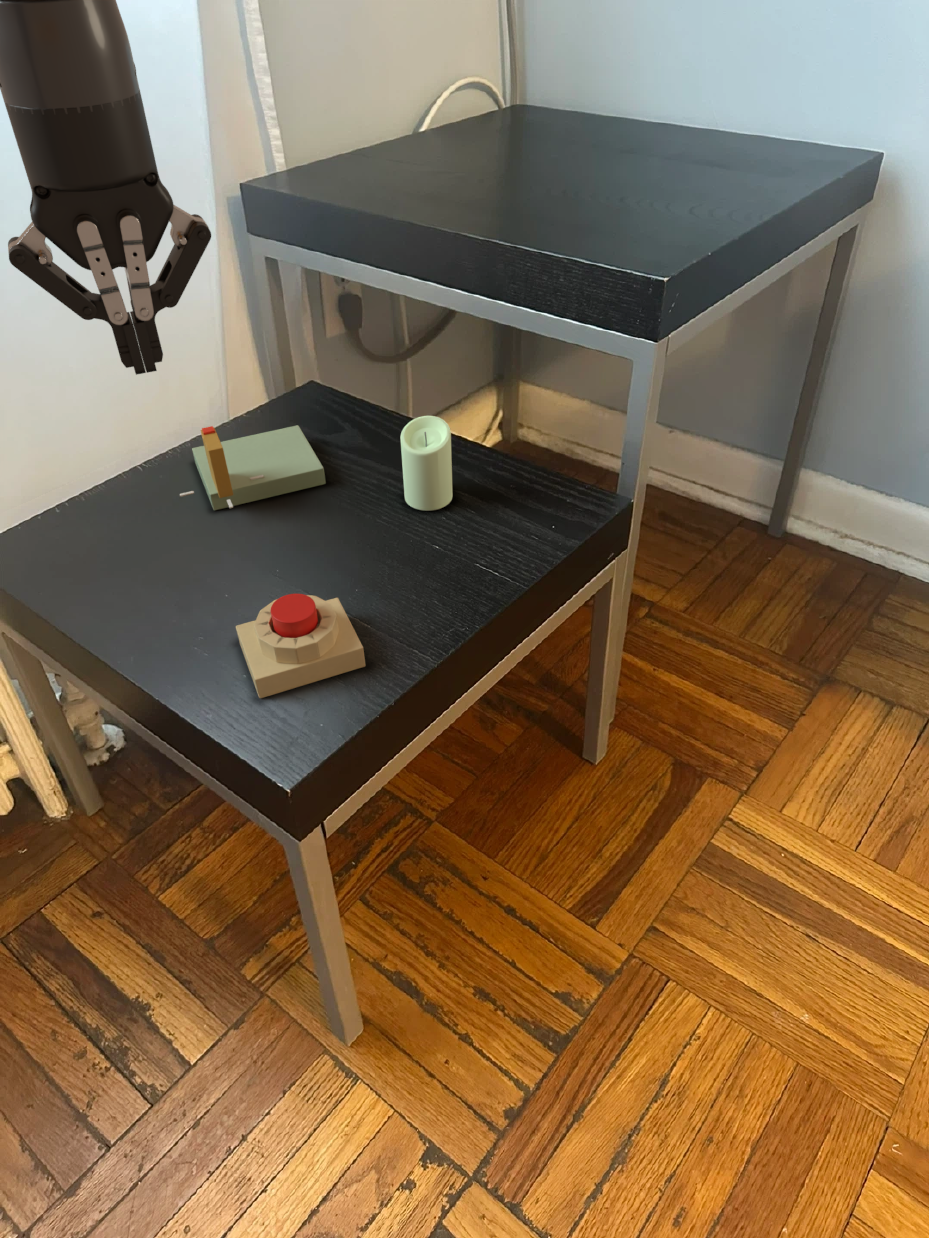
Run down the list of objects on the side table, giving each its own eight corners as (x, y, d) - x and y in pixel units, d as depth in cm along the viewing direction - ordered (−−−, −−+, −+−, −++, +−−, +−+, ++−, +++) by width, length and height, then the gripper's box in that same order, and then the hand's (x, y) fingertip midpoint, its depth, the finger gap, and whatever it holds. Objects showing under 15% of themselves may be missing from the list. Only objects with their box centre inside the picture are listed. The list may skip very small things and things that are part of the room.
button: (280, 643, 70) (276, 627, 69) (269, 616, 73) (265, 600, 72) (323, 631, 71) (320, 614, 70) (311, 604, 74) (308, 588, 73)
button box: (259, 699, 71) (250, 663, 68) (240, 644, 75) (231, 609, 73) (365, 666, 73) (361, 631, 71) (340, 615, 78) (335, 580, 75)
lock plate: (192, 535, 87) (187, 517, 86) (169, 469, 97) (165, 452, 95) (335, 500, 92) (332, 482, 90) (300, 440, 101) (298, 423, 99)
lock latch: (233, 495, 89) (222, 445, 85) (219, 498, 89) (207, 448, 85) (224, 473, 92) (213, 424, 88) (211, 476, 92) (199, 427, 88)
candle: (444, 514, 89) (442, 443, 84) (398, 507, 90) (392, 437, 85) (458, 488, 93) (456, 418, 88) (413, 481, 94) (409, 412, 89)
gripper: (-56, 113, 46) (49, 410, 58) (197, 90, 50) (249, 374, 62) (-53, 85, 52) (43, 363, 63) (176, 67, 55) (227, 332, 67)
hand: (145, 368), depth 62 cm, fingers closed
